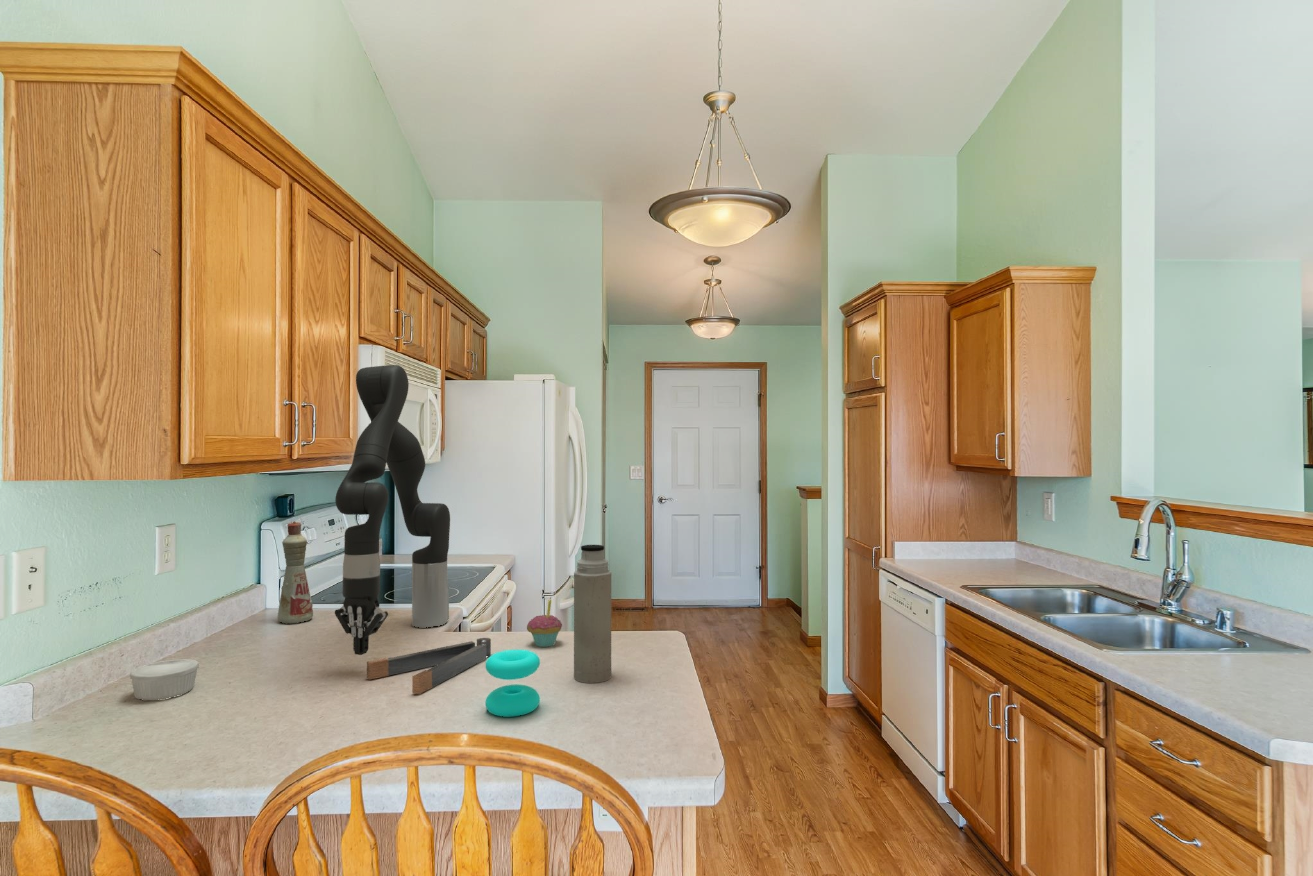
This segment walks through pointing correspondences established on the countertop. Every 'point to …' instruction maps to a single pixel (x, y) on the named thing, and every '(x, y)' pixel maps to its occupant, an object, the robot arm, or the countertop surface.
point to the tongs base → (451, 667)
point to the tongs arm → (414, 660)
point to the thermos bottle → (592, 616)
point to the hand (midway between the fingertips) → (360, 653)
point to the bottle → (295, 579)
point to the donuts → (512, 696)
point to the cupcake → (544, 628)
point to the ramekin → (164, 679)
